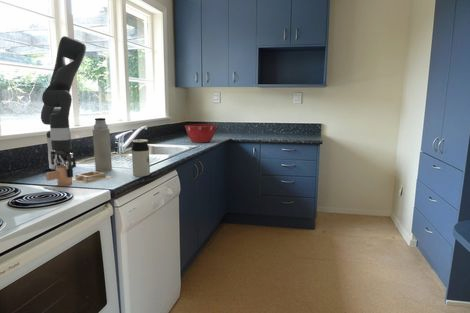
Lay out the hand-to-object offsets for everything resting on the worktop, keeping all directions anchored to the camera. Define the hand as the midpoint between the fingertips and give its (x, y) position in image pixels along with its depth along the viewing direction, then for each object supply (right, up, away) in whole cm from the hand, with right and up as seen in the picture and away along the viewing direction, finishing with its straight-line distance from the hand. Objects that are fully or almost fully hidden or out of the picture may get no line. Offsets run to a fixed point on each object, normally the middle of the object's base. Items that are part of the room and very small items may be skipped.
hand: (64, 176), depth 138 cm
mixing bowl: (+43, +21, +150) cm, 157 cm away
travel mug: (+27, -2, +20) cm, 34 cm away
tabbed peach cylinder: (-1, -5, -1) cm, 5 cm away
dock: (+6, -3, +12) cm, 14 cm away
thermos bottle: (+5, 0, +31) cm, 31 cm away
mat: (0, -5, +1) cm, 5 cm away
